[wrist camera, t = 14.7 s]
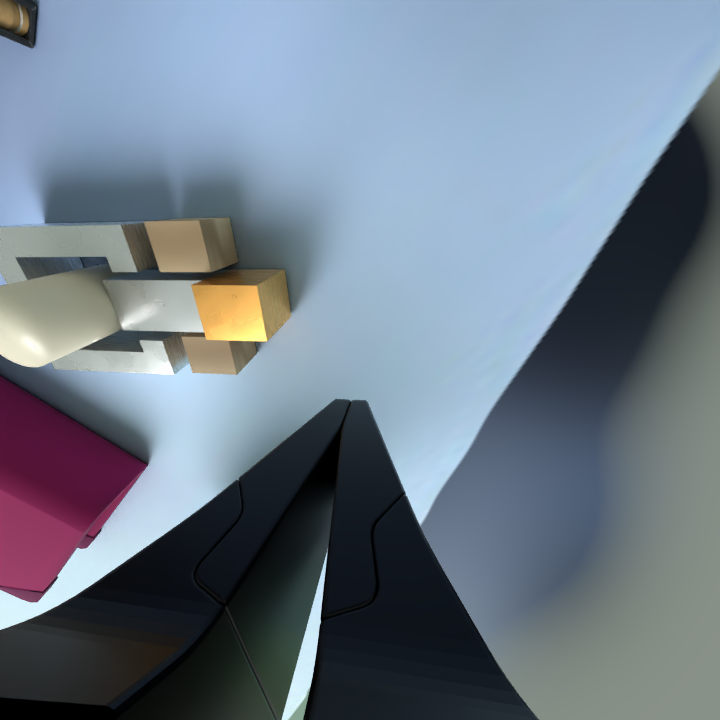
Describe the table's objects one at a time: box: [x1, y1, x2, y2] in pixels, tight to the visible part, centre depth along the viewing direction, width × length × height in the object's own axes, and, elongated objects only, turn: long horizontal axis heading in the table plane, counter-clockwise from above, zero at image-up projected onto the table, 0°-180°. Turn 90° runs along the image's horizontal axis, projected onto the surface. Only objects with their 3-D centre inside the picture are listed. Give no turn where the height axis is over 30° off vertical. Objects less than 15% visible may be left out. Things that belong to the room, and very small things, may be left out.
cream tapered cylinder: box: [0, 263, 131, 367], centre depth 18 cm, size 4×4×7 cm
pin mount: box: [144, 217, 257, 375], centre depth 18 cm, size 9×3×3 cm, turn 2°
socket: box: [0, 221, 189, 375], centre depth 19 cm, size 9×9×4 cm
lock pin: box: [103, 269, 291, 342], centre depth 18 cm, size 3×10×4 cm, turn 92°
